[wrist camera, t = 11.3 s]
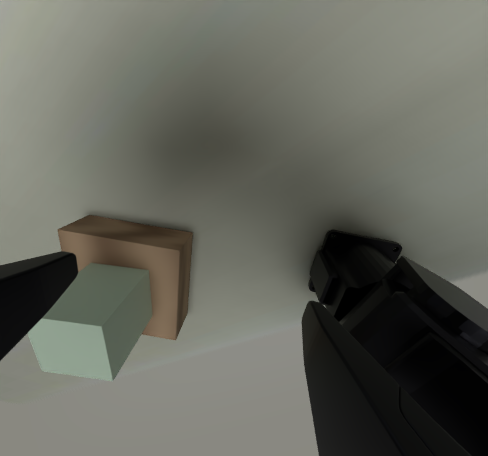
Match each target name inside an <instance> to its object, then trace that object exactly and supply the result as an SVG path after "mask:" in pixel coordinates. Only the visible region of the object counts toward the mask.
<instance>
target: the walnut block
mask: <svg viewBox="0 0 488 456" xmlns="http://www.w3.org/2000/svg"><path fill="white" fill-rule="evenodd" d="M58 234H59V240H60V245H61V250H62V251H65V252H70V253H74V254H75V255H76V258H77V265H78V272H79V271H81V270H82V269H83V268H85V267H86V266H87V265H89V264H90V263H96V264H104V265H112V266H120V267H128V268H136V269H144V270H149V279H150V291H151V303H152V315H153V316H152V317H151V319H150V321H149V322H148V324H147V326H146V327H145V329H144V331H143V332H142V334H143V335H149V336H154V337H160V338H165V339H171V340H176V339H177V336H178V334H179V332H180V329H181V327H182V325H183V322H184V320H185V318H186V315H187V311H188V296H189V281H190V266H191V251H192V236H193V233H191V232H185V231H179V230H173V229H168V228H162V227H156V226H150V225H144V224H139V223H133V222H127V221H121V220H115V219H110V218H104V217H98V216H92V215H88V216H86V217H84V218H82V219H79V220H77V221H75V222H73V223H71V224H69V225H66V226H64V227H62V228H60V229H58Z"/></svg>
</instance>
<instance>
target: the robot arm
mask: <svg viewBox="0 0 488 456" xmlns="http://www.w3.org/2000/svg"><path fill="white" fill-rule="evenodd" d="M333 234H335V237H333V238H331V235H333ZM394 247H396V249H394V250H393V248H394ZM401 250H402V246H401V245H400V244H398V243H396V242H392V241H387V240H382V239H377V238H372V237H367V236H362V235H357V234H352V233H347V232H342V231H337V230H330V231H329V232H328V233H327V235H326V237H325V240H324V243H323V246H322V248H321V250H319V251H318V252H317V254H316V257H315V260H314V263H313V266H312V268H311V271H310V276H311V279H310V281H309V285H308V286H309V289H310V290H311V291H313V292H316V294H317V297H318V300H319V302H320V303H319V302H315V301H309V302H308V304H307V306H306V309H305V311H304V314H303V317H302V337H303V355H304V366H305V373H306V379H307V385H308V391H309V397H310V403H311V410H312V415H313V422H314V427H315V434H316V440H317V446H318V452H319V456H488V309H487V308H486V307H484V306H483V305H482V304H480V303H479V302H478V301H476V300H475V299H473V298H472V297H471V296H469V295H468V294H467V293H465V292H464V291H462V290H461V289H460V288H458V287H457V286H455V285H453V284H452V283H450V282H448V281H446V280H445V279H443V278H441V277H439V276H438V275H436V274H434V273H433V272H431V271H429V270H427V269H426V268H424V267H422V266H420V265H419V264H417V263H415V262H414V261H412V260H410V259H408V258H407V257H405V256H403V255H402V256H401V257H400V258H399V259H398V260H397V258H398V256H399V254H400V252H401ZM396 260H397V261H396ZM395 262H397V264H396V263H395ZM77 275H78V265H77V258H76V255H75V254H74V253H70V252H65V251H61V252H57V253H53V254H48V255H44V256H39V257H35V258H31V259H26V260H22V261H18V262H13V263H9V264H5V265H0V361H1V360H2V359H3V358H4V357H5V356H6V354H7V353H8V352H9V351H10V350H11V349H12V348H13V347H14V346H15V345H16V344H17V343H18V342H19V341H20V340H21V339H22V338H23V337H24V336H25V335H26V334H27V333H28V332H29V331H30V330H31V329H32V328H33V327H34V326H35V325H36V324H37V323H38V322H39V321H40V320H41V319H42V318H43V317H44V316H45V315H46V313H47V312H48V311H49V310H50V309H51V308H52V307H53V305H54V304H55V303H56V302H57V301H58V299H59V298H60V297H61V296H62V294H63V293H64V292H65V291H66V290H67V288H68V287H69V286H70V285H71V283H72V282H73V281H74V280H75V279H76V277H77ZM312 286H314V287H312ZM322 304H323V305H325V306H326V308H325V307H324V306H323V305H322Z"/></svg>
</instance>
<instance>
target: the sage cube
mask: <svg viewBox="0 0 488 456" xmlns="http://www.w3.org/2000/svg"><path fill="white" fill-rule="evenodd" d="M152 316H153V315H152V303H151V291H150V279H149V270H144V269H136V268H128V267H120V266H112V265H104V264H96V263H90V264H89V265H87V266H86V267H85V268H83V269H82V270H81V271H79V272H78V275H77V277H76V279H75V280H74V281H73V282H72V283H71V285H70V286H69V287H68V288H67V290H66V291H65V292H64V293H63V294H62V296H61V297H60V298H59V299H58V301H57V302H56V303H55V304H54V305H53V307H52V308H51V309H50V310H49V311H48V312H47V313H46V315H45V316H44V317H43V318H42V319H41V320H40V321H39V322H38V323H37V324H36V325H35V326H34V327H33V328H32V329H31V330H30V331H29V332H28V336H29V338H30V341H31V344H32V346H33V349H34V351H35V354H36V357H37V359H38V362H39V364H40V367H41V370H42V371H45V372H52V373H59V374H66V375H73V376H80V377H87V378H94V379H101V380H108V381H113V380H114V379H115V377H116V375H117V374H118V372H119V370H120V369H121V367H122V365H123V364H124V362H125V360H126V359H127V357H128V355H129V354H130V352H131V350H132V349H133V347H134V346H135V344H136V342H137V341H138V339H139V337H140V336H141V334H142V332H143V331H144V329H145V327H146V326H147V324H148V322H149V321H150V319H151V317H152Z"/></svg>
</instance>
